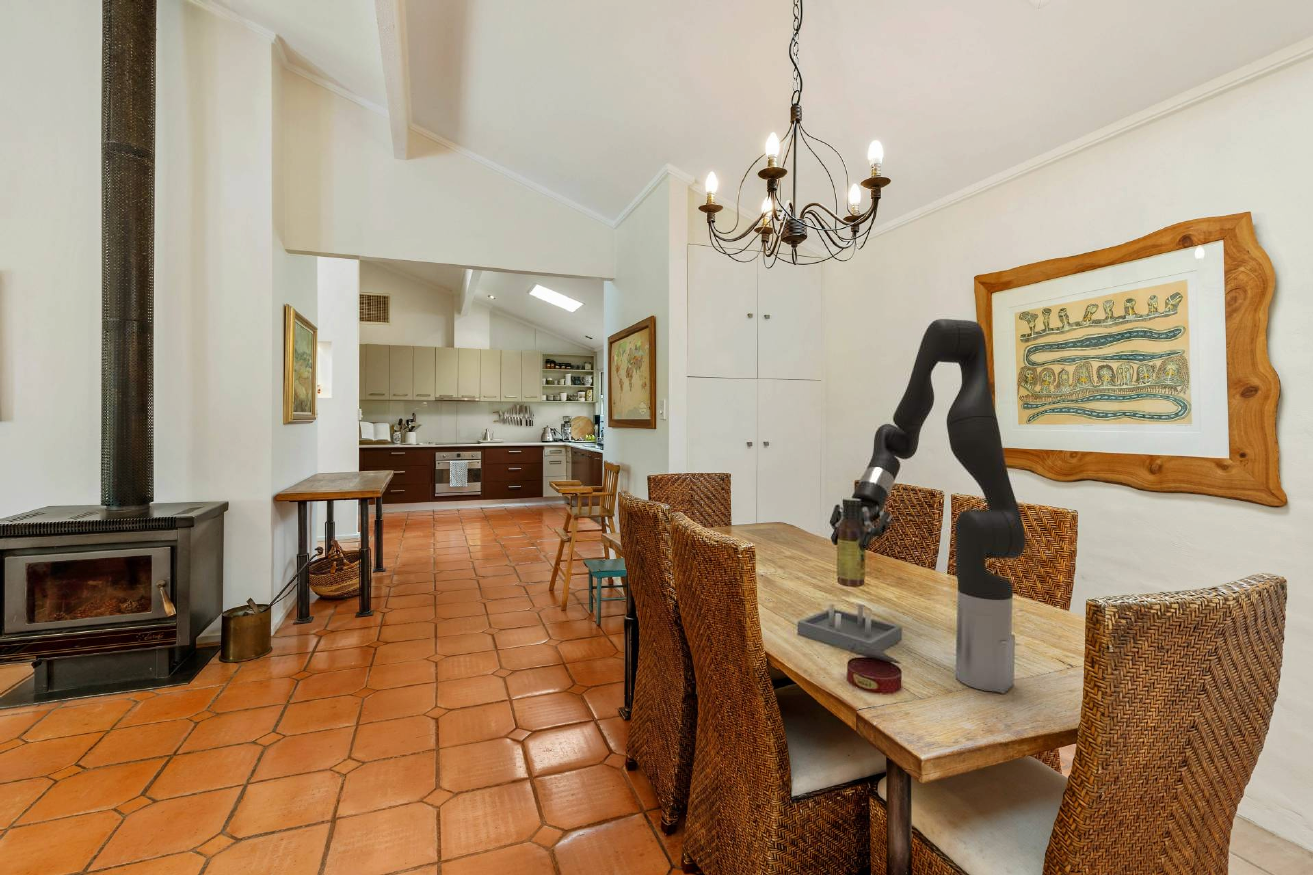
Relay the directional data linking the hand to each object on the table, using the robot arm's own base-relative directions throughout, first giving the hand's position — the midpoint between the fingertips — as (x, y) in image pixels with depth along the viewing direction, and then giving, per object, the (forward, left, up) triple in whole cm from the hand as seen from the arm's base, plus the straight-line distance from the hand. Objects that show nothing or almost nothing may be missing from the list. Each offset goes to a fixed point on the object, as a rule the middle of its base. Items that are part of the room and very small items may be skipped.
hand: (847, 545), depth 133 cm
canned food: (-15, +16, -22) cm, 31 cm away
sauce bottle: (0, -2, -10) cm, 10 cm away
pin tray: (0, -2, -22) cm, 22 cm away
